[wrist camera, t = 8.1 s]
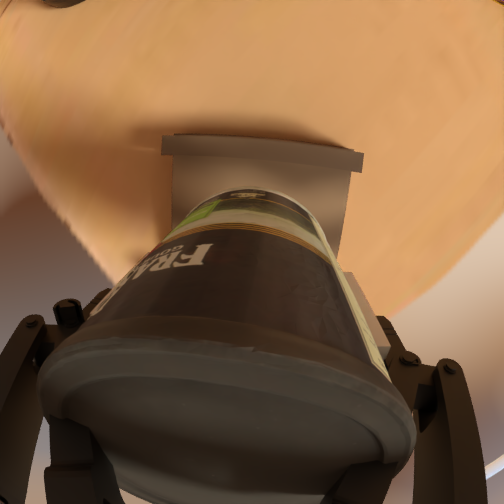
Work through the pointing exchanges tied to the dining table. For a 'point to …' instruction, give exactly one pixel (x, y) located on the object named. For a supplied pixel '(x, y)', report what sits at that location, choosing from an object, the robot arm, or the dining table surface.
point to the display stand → (263, 173)
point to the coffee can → (232, 364)
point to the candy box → (500, 2)
